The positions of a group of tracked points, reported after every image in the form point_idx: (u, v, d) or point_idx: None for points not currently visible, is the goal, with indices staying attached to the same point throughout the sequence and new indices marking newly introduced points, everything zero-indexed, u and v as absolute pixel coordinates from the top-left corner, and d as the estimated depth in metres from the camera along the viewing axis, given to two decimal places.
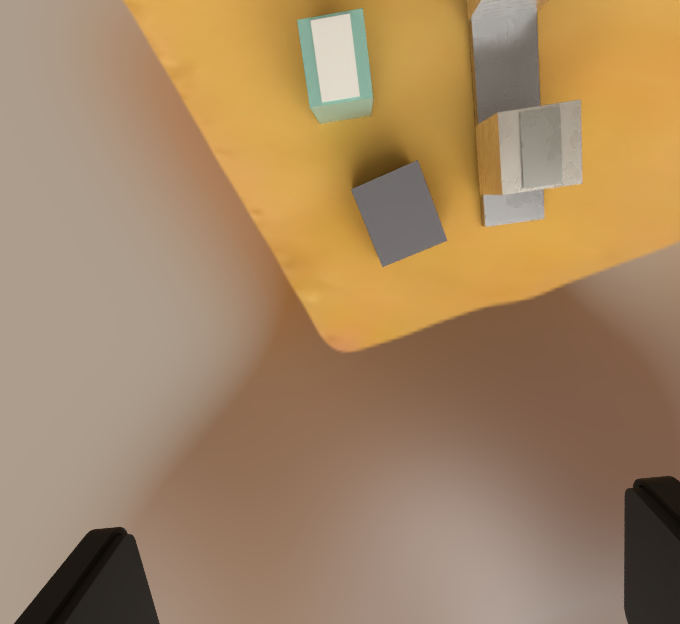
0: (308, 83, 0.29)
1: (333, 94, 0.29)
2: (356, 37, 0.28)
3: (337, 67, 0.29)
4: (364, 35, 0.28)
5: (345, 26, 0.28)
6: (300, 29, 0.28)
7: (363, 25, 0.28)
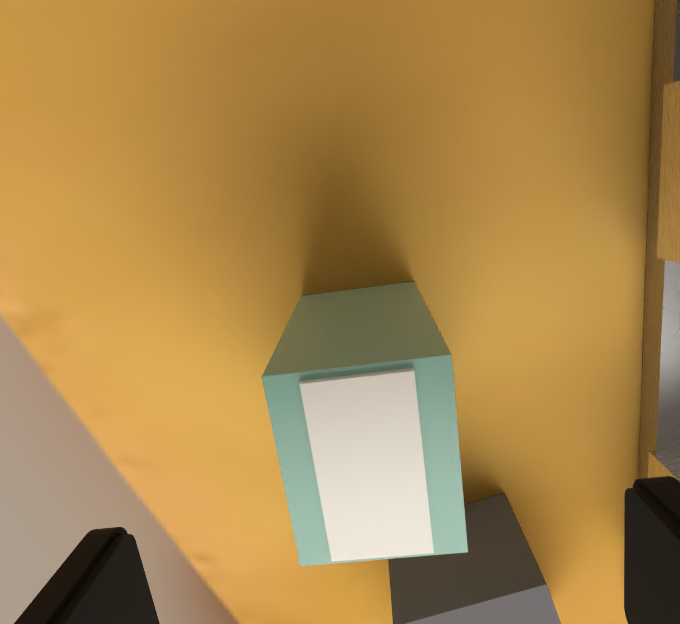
0: (295, 518, 0.11)
1: (361, 547, 0.11)
2: (428, 422, 0.10)
3: (375, 493, 0.10)
4: (452, 419, 0.10)
5: (401, 401, 0.10)
6: (271, 399, 0.10)
7: (451, 395, 0.10)
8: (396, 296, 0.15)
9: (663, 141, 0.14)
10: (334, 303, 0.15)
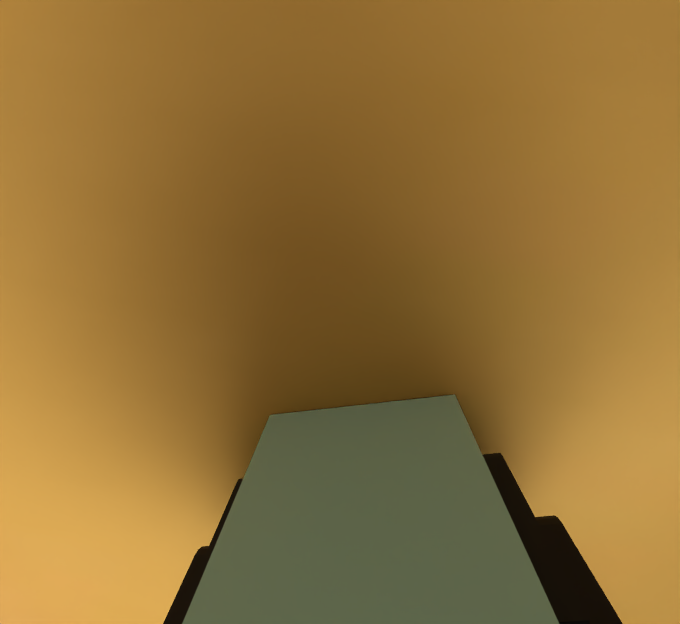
0: None
1: None
2: None
3: None
4: None
5: None
6: None
7: None
8: (431, 441, 0.08)
9: None
10: (320, 449, 0.09)
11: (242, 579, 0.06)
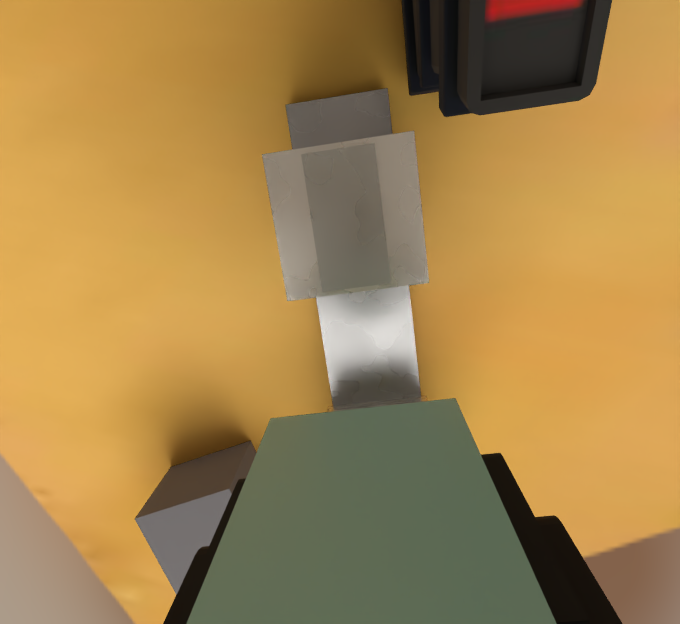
0: None
1: None
2: None
3: None
4: None
5: None
6: None
7: None
8: (431, 445, 0.08)
9: None
10: (321, 453, 0.09)
11: (243, 585, 0.06)
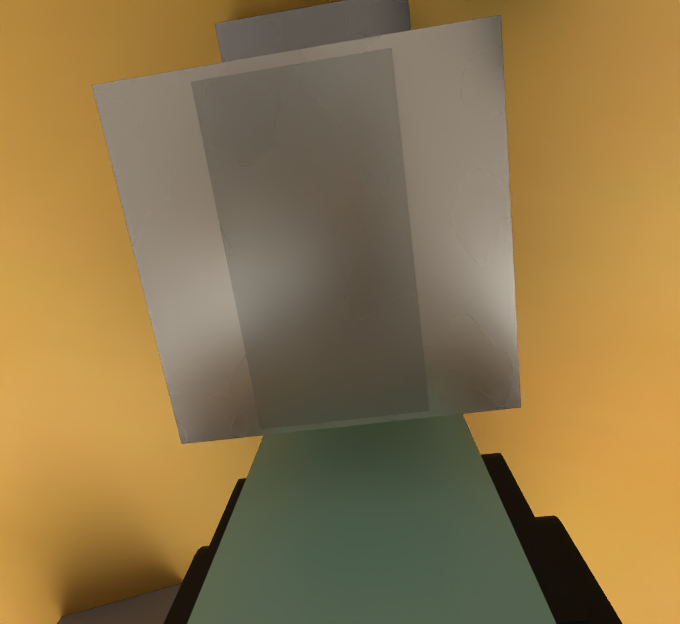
0: None
1: None
2: None
3: None
4: None
5: None
6: None
7: None
8: (431, 446, 0.08)
9: None
10: (321, 453, 0.09)
11: (244, 585, 0.06)
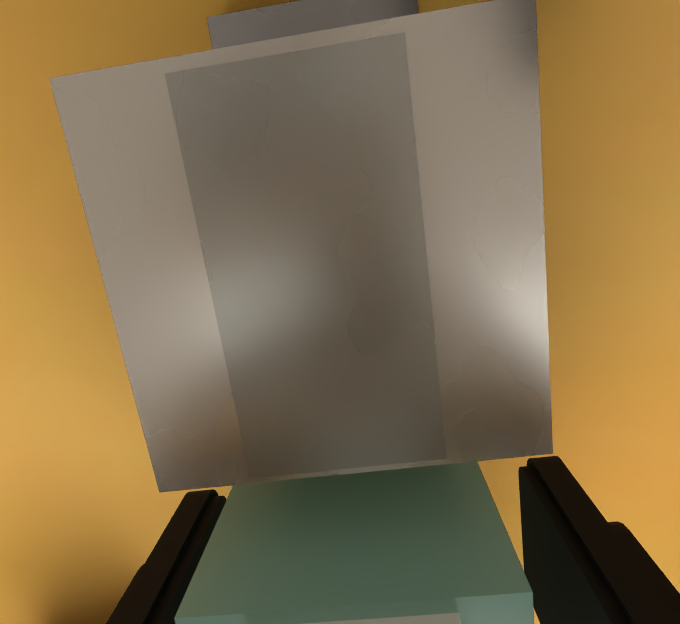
0: None
1: None
2: None
3: None
4: None
5: None
6: None
7: None
8: None
9: None
10: None
11: (264, 484, 0.08)
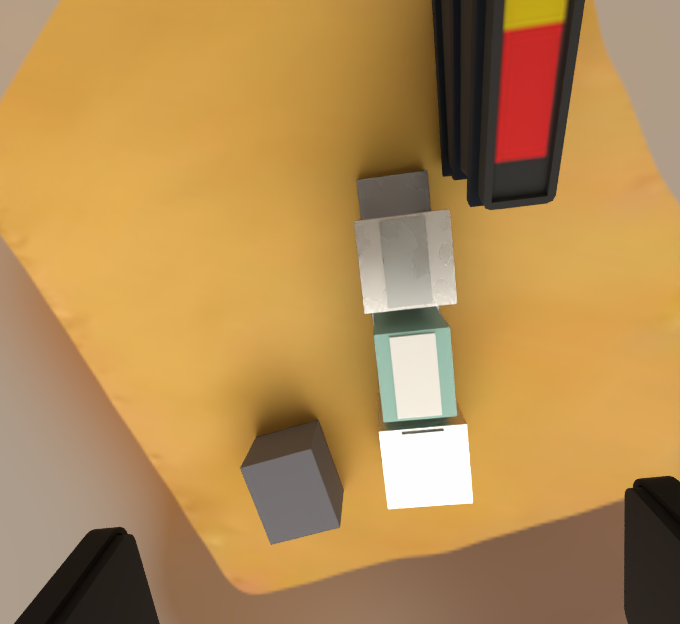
0: (383, 398, 0.26)
1: (411, 412, 0.25)
2: (440, 355, 0.25)
3: (418, 386, 0.25)
4: (450, 354, 0.25)
5: (429, 345, 0.25)
6: (377, 344, 0.25)
7: (449, 344, 0.25)
8: (424, 308, 0.30)
9: None
10: (393, 311, 0.30)
11: (383, 323, 0.27)
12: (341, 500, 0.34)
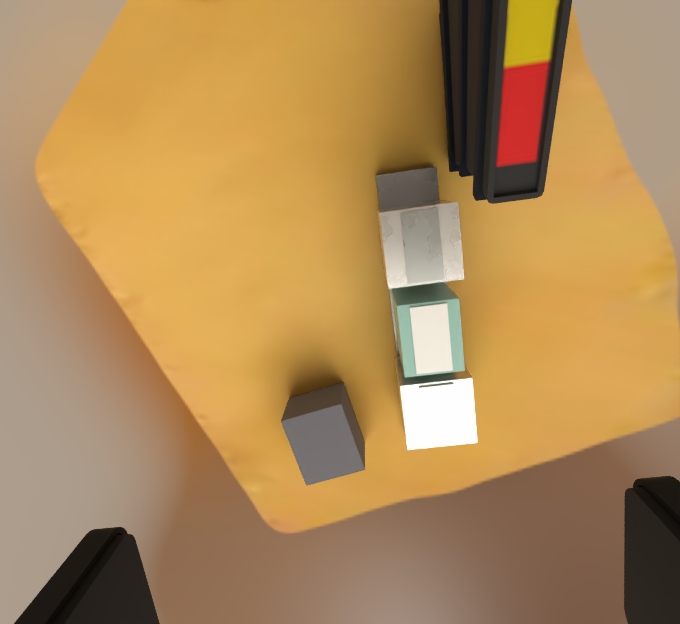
0: (404, 357, 0.31)
1: (427, 368, 0.31)
2: (451, 321, 0.31)
3: (433, 347, 0.31)
4: (459, 320, 0.30)
5: (442, 313, 0.30)
6: (399, 313, 0.31)
7: (458, 312, 0.30)
8: (435, 284, 0.35)
9: None
10: (408, 287, 0.36)
11: (402, 296, 0.33)
12: (364, 449, 0.40)
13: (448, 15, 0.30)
